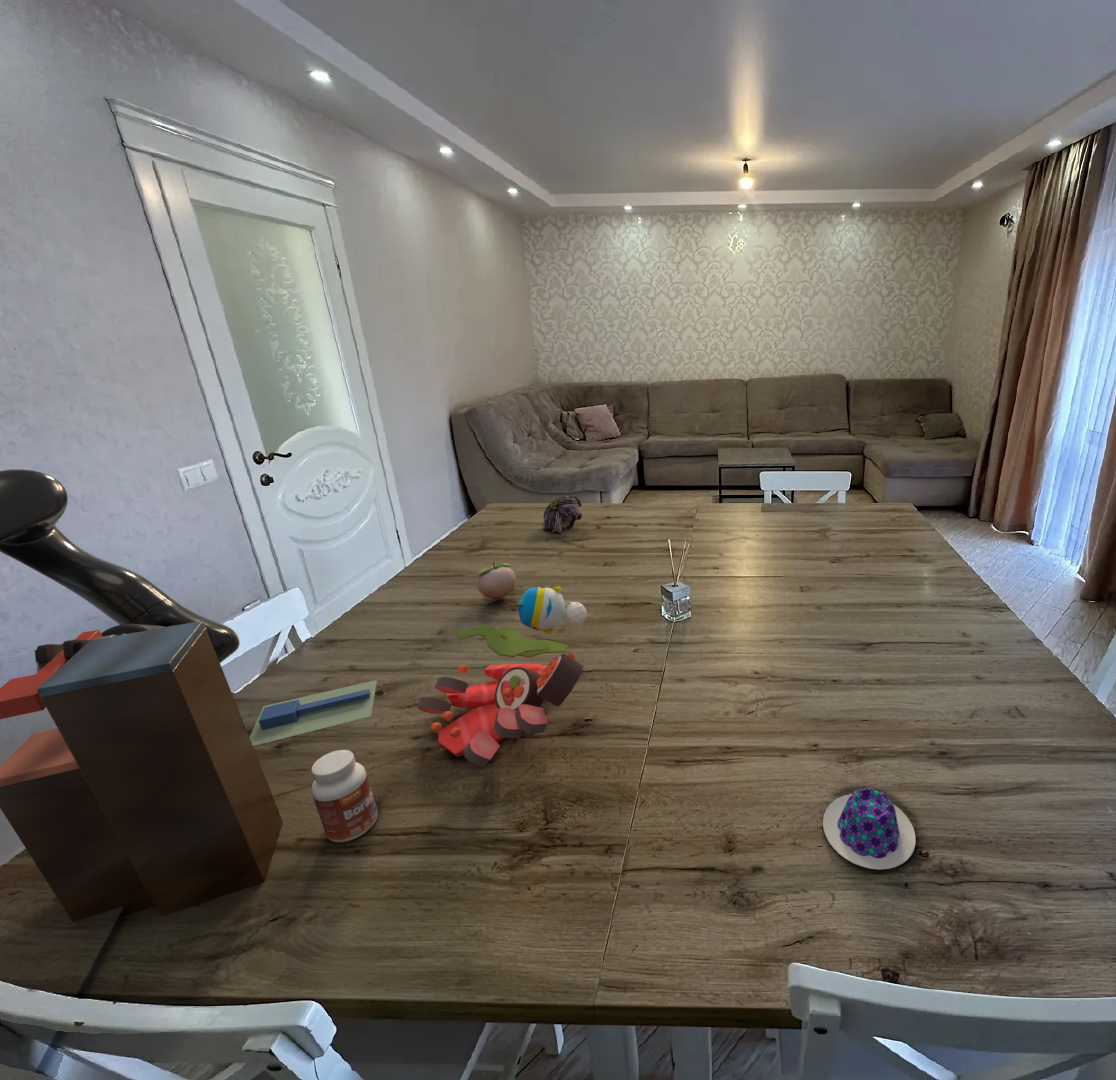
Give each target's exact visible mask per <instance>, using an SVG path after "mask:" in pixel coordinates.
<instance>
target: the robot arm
mask: <svg viewBox="0 0 1116 1080" xmlns="http://www.w3.org/2000/svg"><path fill="white" fill-rule="evenodd" d="M66 489H67V488H66V487H65V486H64V485H63V484H62V482H60V481H59V480H58V479H56V477H53V476H51V475H49V474H47V473H45V472H41V471H37V470H32V469H22V468H21V469H19V468H18V469H5V470H0V553H2V554H3V555H6V556H8V557H10V558H12V559H13V560H16V561H17V562H18V563H19V562H20V563H21V564H23V565H24V566H26V567H28V568H30V569H32V570H33V571H36V572H37V573H39V574H41V575H43V576H44V577H47V578H48V579H50V580H52V581H54V582H55V583H57V584H58V585H61V586H62V587H64V588H65V589H67V590H69V591H71V592H72V593H74V594H75V595H77V596H79V597H80V598H82V599H83V600H85V601H86V602H88V603H89V604H91V605H92V606H93V607H95V608H96V609H98V610H99V611H100V612H102V613H103V614H104V615H106V616H107V617H108V618H110V619H111V620H112V621H114V622H115V623H116V624H118V625H115V626H112V627H109V628H107V629H105V630H104V631H102V632H101V635H102V637H98V638H94V639H92V640H96V639H102V638H108V637H113V636H119V635H125V634H130V633H136V632H142V631H147V630H153V629H159V628H164V627H170V626H176V625H181V624H187V623H193V622H198V621H203V622H204V625H205V627H206V629H207V632H208V634H209V637H210V639H211V642H212V645H213V647H214V650H215V652H216V655H217V657H218V660H219V662H220V664H221V663H222V662H224V661H225V660H226V659H228V658H230V656H232V655H233V654H234V653H235V652H236V651H237V650H238V649H239V647H240V638H239V635H238V633H237V632H236V631H235V630H234V629H232V628H231V627H230V626H228V625H225V624H224V623H221V622H219V621H216V620H214V619H212V618H209V617H206V616H204V615H202V614H200V613H198V612H195V611H194V610H191V609H189V608H188V607H186V606H184V605H182V604H181V603H179V602H178V601H177V600H175V599H174V598H172V597H171V596H170V595H169V594H167V593H166V592H164V591H163V590H162V589H161V588H160V587H158V586H157V585H156V584H154V583H153V582H152V581H150V580H149V579H148V578H147V577H144V576H143V575H142V574H140V573H137V571H133V570H131V569H130V568H127V567H123V566H121V565H118V564H115V563H113V562H110V561H108V560H105V559H104V558H103V559H102V558H100V557H97V556H95V555H94V554H91V553H89V552H88V551H86V550H84V549H83V548H81V547H80V546H78V545H76V544H75V543H74V542H73V541H71V539H69V538H68V537H67V536H66V535H65V534H64V533H63V532H62V531H61V530H60V529H59V528H58V527H57V526H56V525H57V523H58V522H59V521H60V519H61V518H62V517H63V516H64V514H65V512H66V510H67V508H68V504H69V503H68V502H69V495H68V492H67V490H66ZM89 641H91V640H75V639H69V640H64V641H63V642H62V643H57V644H56V643H47V644H41V645H38V646H37V647H36V649H34V656H35V657H34V658H35V664H36V673H37V672H38V671H39V670H41V669H42V668H43V667H44V666H45V665H46V664H47V663H49V662H50V661H51V660H52V659H53V658H54V657H55V656H57V655H58V654H59V653H60V652H61V651H62V650H64V657H65V659H67V660H70V659H71V658H72V657H73V656H74V655H75V654H76V653H77V652H78V651H79V650H80V649H82V648H83V647H84V646H85V645H86V644H87V643H88V642H89Z"/></svg>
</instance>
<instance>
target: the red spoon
mask: <svg viewBox="0 0 1116 1080" xmlns="http://www.w3.org/2000/svg"><path fill="white" fill-rule="evenodd" d="M101 633H102V632H101V630H100V629H93V630H88V631H83V632H81V633H80V634H79V635H77V636H76V638H75V639H74V640H92V639H94V638H98V637H102V635H101ZM67 661H68V660H67V659H65V657H64V650H62V651H61V652H60V653H59V654H58V655H57V656H55V657H54V658H53V659H52V660H51V661H50V662H49V663H47V664H46V665H45V666H44V667H43V668H42V669H41V670H39V671H38V672H37V671H36V673H35V674H31V675H30V674H29V675H24V676H20V677H16V678H15V677H14V678H11V679H10V678H9V680H8V681H7V682H6V683H5V684H3V685H2V686H1V687H0V720H3V719H8V718H14V717H18V716H22V715H28V714H32V713H37V712H42V711H44V710H45V709H47V708H46V706H45V704H44V702H43V700H42V699H41V698H42V697H41V696H40V694H39V693H38V691H37V689H38V688H39V687H40V686H41V685H42V684H43V683H44V682H45V681H46V680H48V679H49V678H50V677H51V676H52V675H53V674H54V673H55V672H56V671H57V670H59V669H60V668H61V667H62V666H63V665H64V664H65V663H66V662H67Z"/></svg>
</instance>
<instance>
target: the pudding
mask: <svg viewBox="0 0 1116 1080" xmlns="http://www.w3.org/2000/svg"><path fill="white" fill-rule="evenodd" d="M822 826H823V832H824V835H825V837H826V839H827V841H828V843H829V844H830V846H831V847H832V848H833V850H835V851H836V852H837V854H838V855H840V856H841V857H843V858H844V859H845V860H847V861H849V862H851V864H854V865H857V866H860V867H863V868H867V869H869V870H870V869H871V870H872V869H873V870H889V869H892V868H897V867H899V866H901V865H902V864H904V863H905V862H907V861H908V860H909V858H911V856H912V855H913V853H914V851H915V848H916V843H917V841H916V840H917V839H916V837H917V836H916V833H915V828H914V826H913V824H912V822H911V821H910V819H909V817H908V816H907V815H906V814H905V813H904V812H903V810H901V809H900V807H898V806H896V805H895V804H893V802H892V800H890V799H889V797H888V795H887V794H886V793H884V792H883V791H878V790H876V789H875V788H872V787H866V788H858V789H855V790H854V791H853V792H852V793H848V794H845V795H842V796H840V797H838V798H836V799H835V800H833V801H832V802H831V803H830V804H829V805H828V807H827V808H826V809H825V812H824V815H823V820H822Z"/></svg>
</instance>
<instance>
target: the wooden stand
mask: <svg viewBox="0 0 1116 1080" xmlns="http://www.w3.org/2000/svg"><path fill="white" fill-rule="evenodd" d="M37 691H38V693H39V694H40V696H41V697H42V698H41V699H42V700H43V702H44V704H45V706H46V708H45V709H46V710H47V711H48V713H49V715H50V717H51V719H52V721H53V722H54V724H55V726H56V728H54V729H49V730H45V731H41V732H35V733H32V734H30V736H28V738H26V740H25V741H24V742H22V743H21V745H20V746H19V747H18V748H17V749H16V750H15V751H14V752H13V753H12V754H11V755H10V756H9V757H8V758H7V759H6V760H5V761H4V762H3V763H2V764H1V765H0V811H2V814H3V815H4V816H5V818H6V820H7V822H8V823H9V824H10V826H11V828H12V829H13V831H14V832H15V834H16V835H17V837H18V838H19V840H20V842H21V843H22V846H23V847H24V848H25V850H26V851H27V853H28V854H29V856H30V857H31V859H32V861H33V863H34V864H35V865H36V867H37V869H38V870H39V872H40V873H41V875H42V876H43V878H44V879H45V881H46V883H47V884H48V886H49V888H50V889H51V891H52V893H54V895H55V897H56V899H57V900H58V901H59V904H60V905H61V906H62V908H63V909H64V911H65V913H66V914H67V916H68V917H69V919H70V920H71V922H72V923H75V922H78V921H82V920H84V919H87V918H91V917H93V916H97V915H100V914H103V913H106V912H109V911H113V910H115V909H118V908H122V909H121V911H120V913H119V914H118V916H117V918H120V917H124V916H127V915H129V914H133V913H136V912H140V911H143V910H146V909H148V908H151V907H154V906H155V908H156V910H157V912H158V914H159V916H161V917H162V916H165V915H168V914H171V913H174V912H177V911H180V910H183V909H186V908H189V907H193V906H195V905H198V904H202V903H204V902H207V901H211V900H213V899H216V898H219V897H222V896H225V895H229V894H231V893H235V892H237V891H240V890H243V889H247V888H249V887H252V886H256V885H258V884H261V883H265V881H266V878H267V875H268V871H269V868H270V865H271V862H272V859H273V855H274V852H275V849H276V845H277V843H278V839H279V836H280V833H281V830H282V828H283V827H282V826H283V823H284V820H283V818H282V816H281V813H280V811H279V809H278V806H277V804H276V800H275V798H274V796H273V793H272V791H271V788H270V786H269V782H268V780H267V777H266V775H265V773H264V770H263V768H262V766H261V762H260V761H259V758H258V755H257V753H256V750H255V747H254V746H253V745H252V743H251V740H250V738H249V737H250V735H249V733H248V730H247V728H246V726H245V723H244V720H243V717H242V715H241V713H240V710H239V708H238V704H237V702H236V701H235V698H234V695H233V693H232V690H231V688H230V685H229V682H228V679H227V678H226V675H225V672H224V670H223V668H222V664H221V663H220V662H219V660H218V657H217V655H216V652H215V650H214V647H213V645H212V642H211V639H210V637H209V634H208V632H207V629H206V627H205V625H204V622H203V621H198V622H193V623H187V624H181V625H176V626H170V627H164V628H159V629H153V630H147V631H142V632H136V633H130V634H125V635H119V636H113V637H108V638H102V639H96V640H91V641H89V642H88V643H87V644H86V645H85V646H84V647H83V648H82V649H80V650H79V651H78V652H77V653H76V654H75V655H74V656H73V657H72V658H71V659H70V660H68V661H67V662H66V663H65V664H64V665H63V666H62V667H61V668H60V669H59V670H57V671H56V672H55V673H54V674H53V675H52V676H51V677H50V678H49V679H48V680H46V681H45V682H44V683H43V684H42V685H41V686H40V687H39V688H38V689H37Z"/></svg>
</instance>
